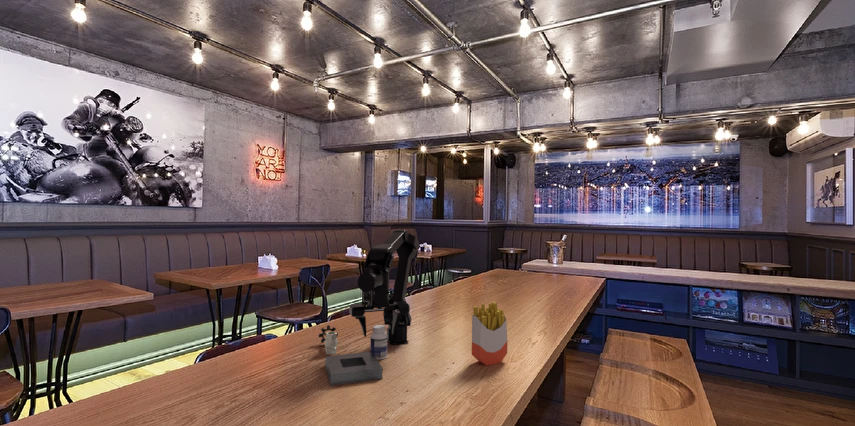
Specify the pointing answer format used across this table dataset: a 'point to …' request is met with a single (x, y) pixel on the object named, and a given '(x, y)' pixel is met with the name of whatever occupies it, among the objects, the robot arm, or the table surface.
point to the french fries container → (489, 334)
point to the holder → (352, 368)
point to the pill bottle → (379, 342)
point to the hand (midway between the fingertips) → (379, 335)
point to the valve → (329, 340)
